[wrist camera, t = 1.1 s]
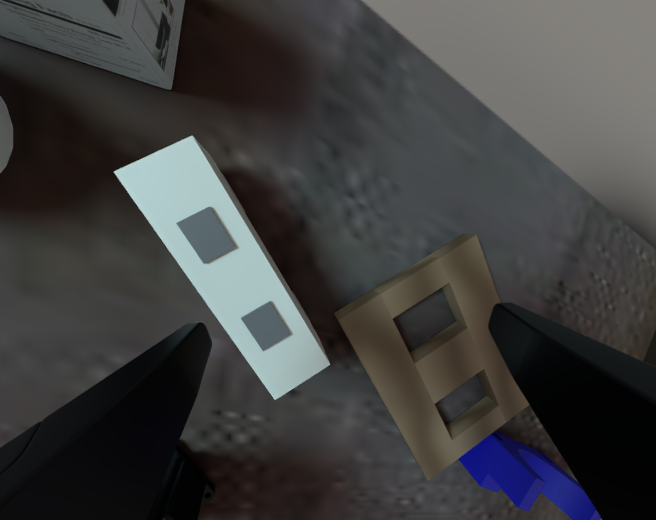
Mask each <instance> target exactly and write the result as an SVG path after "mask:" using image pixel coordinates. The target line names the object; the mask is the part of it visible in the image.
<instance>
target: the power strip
mask: <svg viewBox="0 0 656 520" xmlns="http://www.w3.org/2000/svg"><path fill="white" fill-rule="evenodd" d="M114 173H115V175H116V176H117V178H118V179H119V180H120V182H121V183H122V185H123V186H124V187H125V189H126V190H127V192H128V193H129V194H130V196H131V197H132V199H133V200H134V202H135V203H136V204H137V206H138V207H139V209H140V210H141V211H142V213H143V214H144V216H145V217H146V219H147V220H148V221H149V223H150V224H151V226H152V227H153V228H154V230H155V231H156V233H157V234H158V235H159V237H160V238H161V240H162V241H163V243H164V244H165V245H166V247H167V248H168V250H169V251H170V252H171V254H172V255H173V257H174V258H175V259H176V261H177V262H178V264H179V265H180V267H181V268H182V269H183V271H184V272H185V274H186V275H187V276H188V278H189V279H190V281H191V282H192V283H193V285H194V286H195V288H196V289H197V291H198V292H199V293H200V295H201V296H202V298H203V299H204V300H205V302H206V303H207V305H208V306H209V308H210V309H211V310H212V312H213V313H214V315H215V316H216V317H217V319H218V320H219V322H220V323H221V324H222V326H223V327H224V329H225V330H226V332H227V333H228V334H229V336H230V337H231V339H232V340H233V341H234V343H235V344H236V346H237V347H238V348H239V350H240V351H241V353H242V354H243V356H244V357H245V358H246V360H247V361H248V363H249V364H250V365H251V367H252V368H253V370H254V371H255V373H256V374H257V375H258V377H259V378H260V380H261V381H262V382H263V384H264V385H265V387H266V388H267V389H268V391H269V392H270V394H271V395H272V397H273V398H274V399H275V400H276V399H277V398H279V397H281V396H282V395H284V394H285V393H287V392H288V391H290V390H292V389H293V388H295V387H296V386H298V385H299V384H301V383H303V382H304V381H306V380H307V379H309V378H310V377H312V376H314V375H315V374H317V373H318V372H320V371H321V370H323V369H324V368H326V367H328V366H329V365H330V363H329V360H328V358H327V355H326V353H325V351H324V348H323V346H322V344H321V341H320V339H319V336H318V335H317V333H316V331H315V330H314V328H313V326H312V324H311V321H310V319H309V318H308V316H307V314H306V313H305V311H304V309H303V308H302V306H301V304H300V303H299V301H298V299H297V298H296V296H295V294H294V293H293V291H291V289H290V288H289V286H288V284H287V283H286V281H285V279H284V278H283V276H282V274H281V273H280V271H279V269H278V268H277V266H276V264H275V263H274V261H273V259H272V258H271V256H270V254H269V253H268V251H267V249H266V247H265V246H264V244H263V242H262V241H261V239H260V237H259V236H258V234H257V232H256V231H255V229H254V227H253V226H252V224H251V222H250V221H249V219H248V217H247V216H246V214H245V213H246V212H245V210H244V208H243V207H242V205H241V203H240V202H239V200H238V198H237V197H236V195H235V193H234V192H233V190H232V188H231V187H230V185H229V183H228V181H227V180H226V178H225V176H224V175H223V174H222V173H221V172H220V170H219V169H218V167H217V165H216V164H215V162H214V160H213V159H212V157H211V156H210V154H209V153H208V152H207V151H206V150H205V149H204V148H203V147H202V146H201V144H200V143H199V142H198V141H197V140H196V139H195V138H194V137H193V136H190V137H188V138H186V139H183V140H181V141H179V142H177V143H175V144H173V145H170V146H168V147H166V148H164V149H162V150H159V151H157V152H155V153H153V154H151V155H149V156H146V157H144V158H142V159H140V160H138V161H136V162H133V163H131V164H129V165H127V166H125V167H122V168H120V169H118V170H116V171H114Z"/></svg>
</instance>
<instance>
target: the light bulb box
mask: <svg viewBox="0 0 656 520" xmlns="http://www.w3.org/2000/svg"><path fill="white" fill-rule="evenodd" d="M184 4H185V0H0V36H2V37H5V38H8V39H12V40H15V41H18V42H21V43H24V44H27V45H30V46H34V47H37V48H40V49H43V50H46V51H49V52H52V53H56V54H59V55H62V56H65V57H68V58H71V59H74V60H77V61H80V62H83V63H86V64H89V65H93V66H96V67H99V68H102V69H105V70H108V71H111V72H114V73H117V74H121V75H124V76H127V77H130V78H133V79H136V80H139V81H142V82H145V83H149V84H152V85H155V86H158V87H161V88H164V89H167V90H171V89H172V84H173V78H174V71H175V65H176V58H177V51H178V44H179V38H180V31H181V24H182V17H183V11H184Z"/></svg>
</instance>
